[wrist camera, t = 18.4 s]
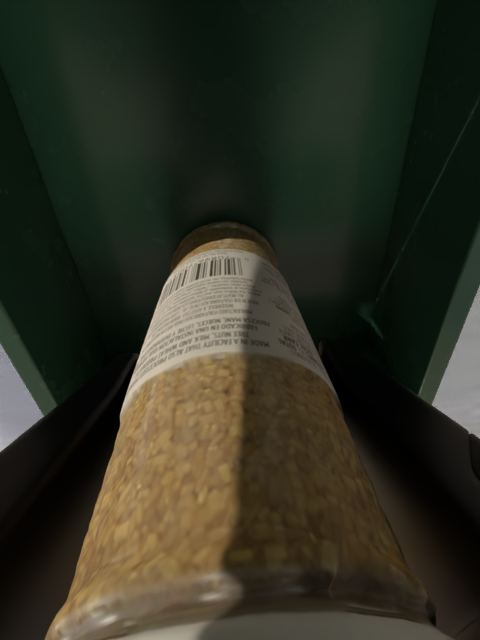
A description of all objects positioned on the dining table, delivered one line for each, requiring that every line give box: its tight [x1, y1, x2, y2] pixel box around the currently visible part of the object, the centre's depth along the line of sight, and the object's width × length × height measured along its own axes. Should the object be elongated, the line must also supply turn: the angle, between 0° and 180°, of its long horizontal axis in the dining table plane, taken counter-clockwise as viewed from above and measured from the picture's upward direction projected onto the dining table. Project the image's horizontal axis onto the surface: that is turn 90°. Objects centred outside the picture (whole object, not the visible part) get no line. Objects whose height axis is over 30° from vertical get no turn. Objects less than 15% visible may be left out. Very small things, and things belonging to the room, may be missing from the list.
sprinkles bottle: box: [45, 221, 455, 640], centre depth 7 cm, size 5×5×14 cm
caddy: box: [0, 0, 480, 416], centre depth 10 cm, size 14×14×5 cm
